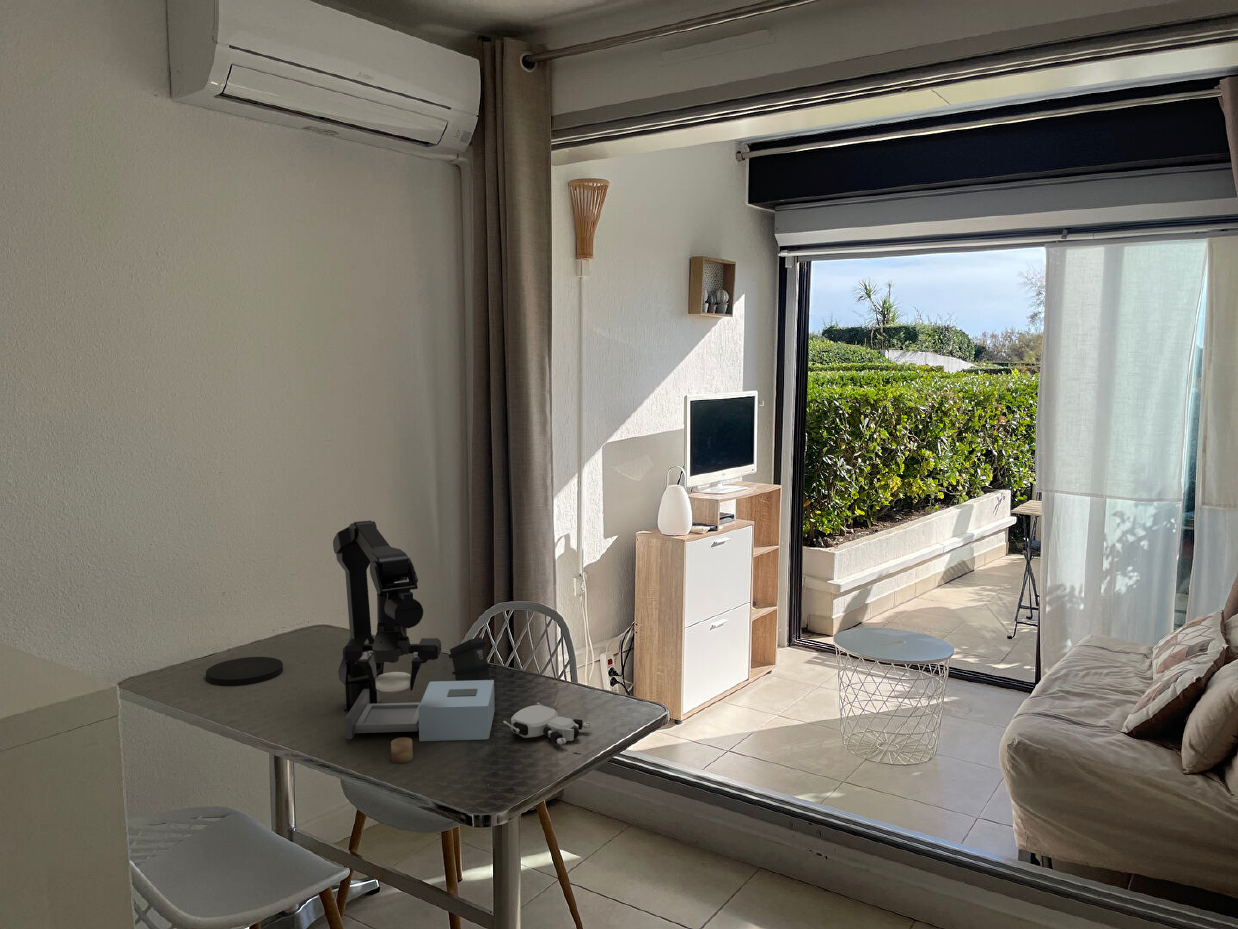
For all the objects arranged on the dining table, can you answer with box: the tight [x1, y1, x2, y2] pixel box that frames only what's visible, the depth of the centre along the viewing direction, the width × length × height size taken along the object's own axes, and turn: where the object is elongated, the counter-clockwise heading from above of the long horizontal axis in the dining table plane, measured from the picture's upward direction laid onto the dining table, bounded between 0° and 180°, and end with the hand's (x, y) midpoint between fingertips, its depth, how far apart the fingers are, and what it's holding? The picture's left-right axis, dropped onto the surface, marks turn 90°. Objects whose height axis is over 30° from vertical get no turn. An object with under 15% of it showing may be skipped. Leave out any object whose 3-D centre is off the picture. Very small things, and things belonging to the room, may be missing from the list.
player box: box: [418, 679, 496, 742], centre depth 196 cm, size 14×16×7 cm
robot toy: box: [502, 702, 591, 745], centre depth 191 cm, size 12×4×15 cm
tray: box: [344, 689, 421, 740], centre depth 195 cm, size 14×17×4 cm
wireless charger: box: [205, 656, 284, 687], centre depth 231 cm, size 18×18×2 cm
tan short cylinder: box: [390, 736, 414, 764], centre depth 179 cm, size 4×4×4 cm
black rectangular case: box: [448, 636, 492, 681], centre depth 211 cm, size 4×13×15 cm, turn 40°
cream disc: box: [376, 671, 411, 693], centre depth 188 cm, size 7×7×2 cm
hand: (393, 690), depth 188 cm, fingers closed on cream disc, 7 cm apart
